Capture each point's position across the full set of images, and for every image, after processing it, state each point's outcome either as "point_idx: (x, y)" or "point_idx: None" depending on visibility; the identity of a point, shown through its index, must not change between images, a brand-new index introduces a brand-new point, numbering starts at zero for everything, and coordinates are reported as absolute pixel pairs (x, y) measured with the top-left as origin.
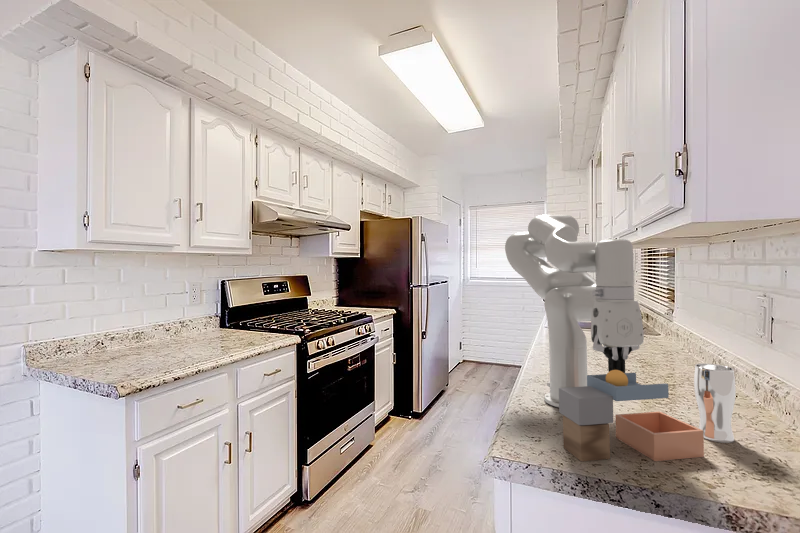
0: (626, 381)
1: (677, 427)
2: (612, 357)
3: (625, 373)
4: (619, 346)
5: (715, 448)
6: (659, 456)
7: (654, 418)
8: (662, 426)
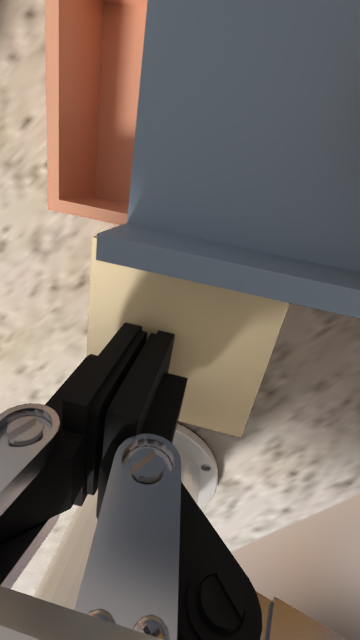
0: None
1: (74, 97)
2: (180, 477)
3: (192, 268)
4: (71, 622)
5: (7, 42)
6: None
7: (90, 203)
8: (83, 182)
